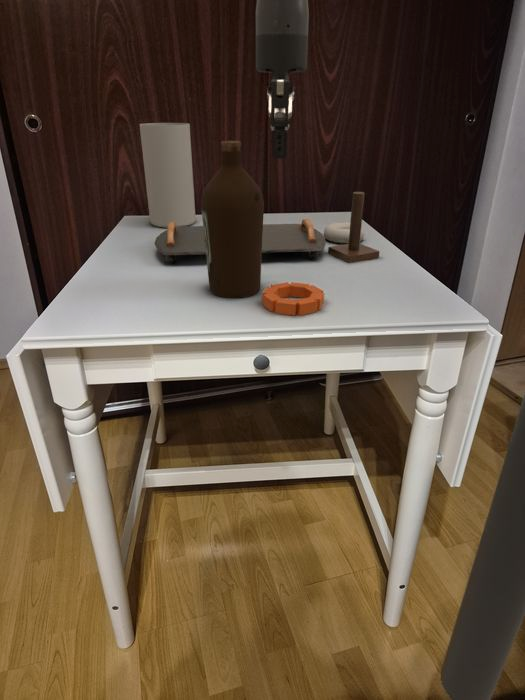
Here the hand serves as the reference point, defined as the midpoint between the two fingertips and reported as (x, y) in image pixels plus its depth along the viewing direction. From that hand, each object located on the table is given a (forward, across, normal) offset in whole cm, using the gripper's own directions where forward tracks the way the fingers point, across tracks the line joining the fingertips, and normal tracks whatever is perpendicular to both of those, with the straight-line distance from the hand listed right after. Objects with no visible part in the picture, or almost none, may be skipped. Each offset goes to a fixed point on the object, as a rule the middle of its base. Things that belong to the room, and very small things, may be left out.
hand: (279, 155), depth 76 cm
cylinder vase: (+23, +52, +30) cm, 65 cm away
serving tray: (+23, +27, +9) cm, 37 cm away
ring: (+23, -5, -3) cm, 24 cm away
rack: (+23, +24, -16) cm, 37 cm away
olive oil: (+23, +1, +8) cm, 25 cm away
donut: (+23, +37, -16) cm, 46 cm away
